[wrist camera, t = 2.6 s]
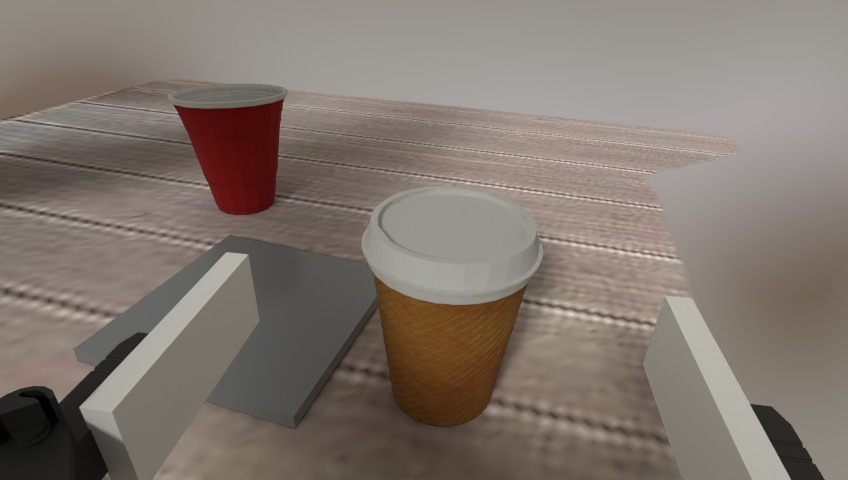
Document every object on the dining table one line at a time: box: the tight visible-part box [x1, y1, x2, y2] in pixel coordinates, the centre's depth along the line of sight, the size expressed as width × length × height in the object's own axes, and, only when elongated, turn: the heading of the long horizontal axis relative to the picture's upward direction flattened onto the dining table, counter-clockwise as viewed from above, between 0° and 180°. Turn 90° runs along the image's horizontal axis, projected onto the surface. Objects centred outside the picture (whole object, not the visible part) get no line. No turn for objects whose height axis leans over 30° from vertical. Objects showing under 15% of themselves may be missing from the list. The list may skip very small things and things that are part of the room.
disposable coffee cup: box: [362, 186, 543, 426], centre depth 29 cm, size 10×10×12 cm
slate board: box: [73, 235, 379, 429], centre depth 37 cm, size 16×16×1 cm
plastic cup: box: [167, 84, 287, 215], centre depth 51 cm, size 11×11×12 cm
